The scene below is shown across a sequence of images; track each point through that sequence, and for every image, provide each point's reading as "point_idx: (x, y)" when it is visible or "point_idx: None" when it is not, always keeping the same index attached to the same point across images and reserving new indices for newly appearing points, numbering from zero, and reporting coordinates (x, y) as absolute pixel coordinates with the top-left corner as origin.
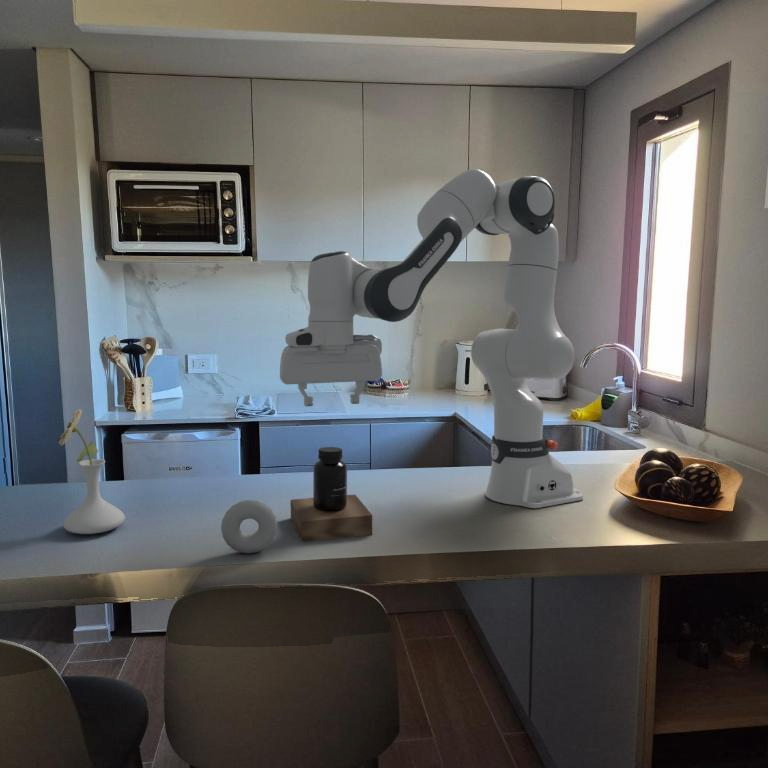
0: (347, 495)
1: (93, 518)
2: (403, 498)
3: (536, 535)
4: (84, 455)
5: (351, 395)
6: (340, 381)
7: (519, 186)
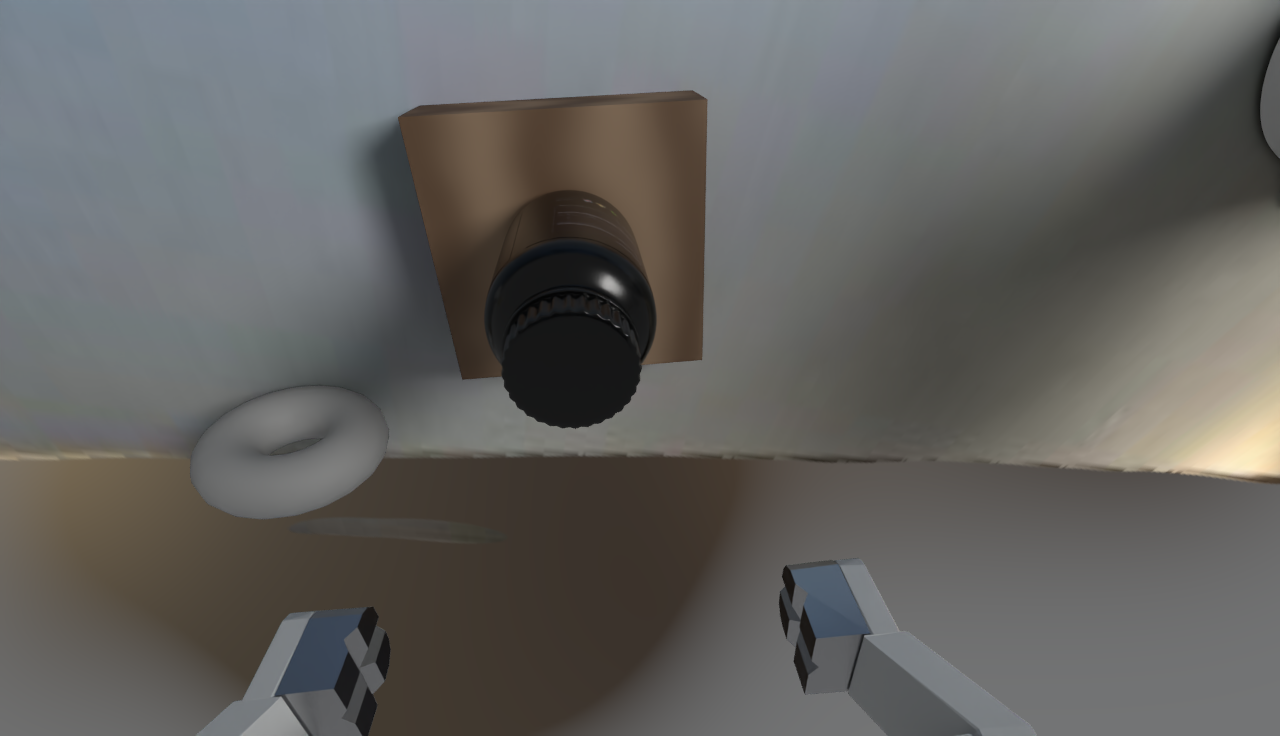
0: (669, 109)
1: None
2: None
3: (1092, 399)
4: None
5: (812, 656)
6: None
7: None
